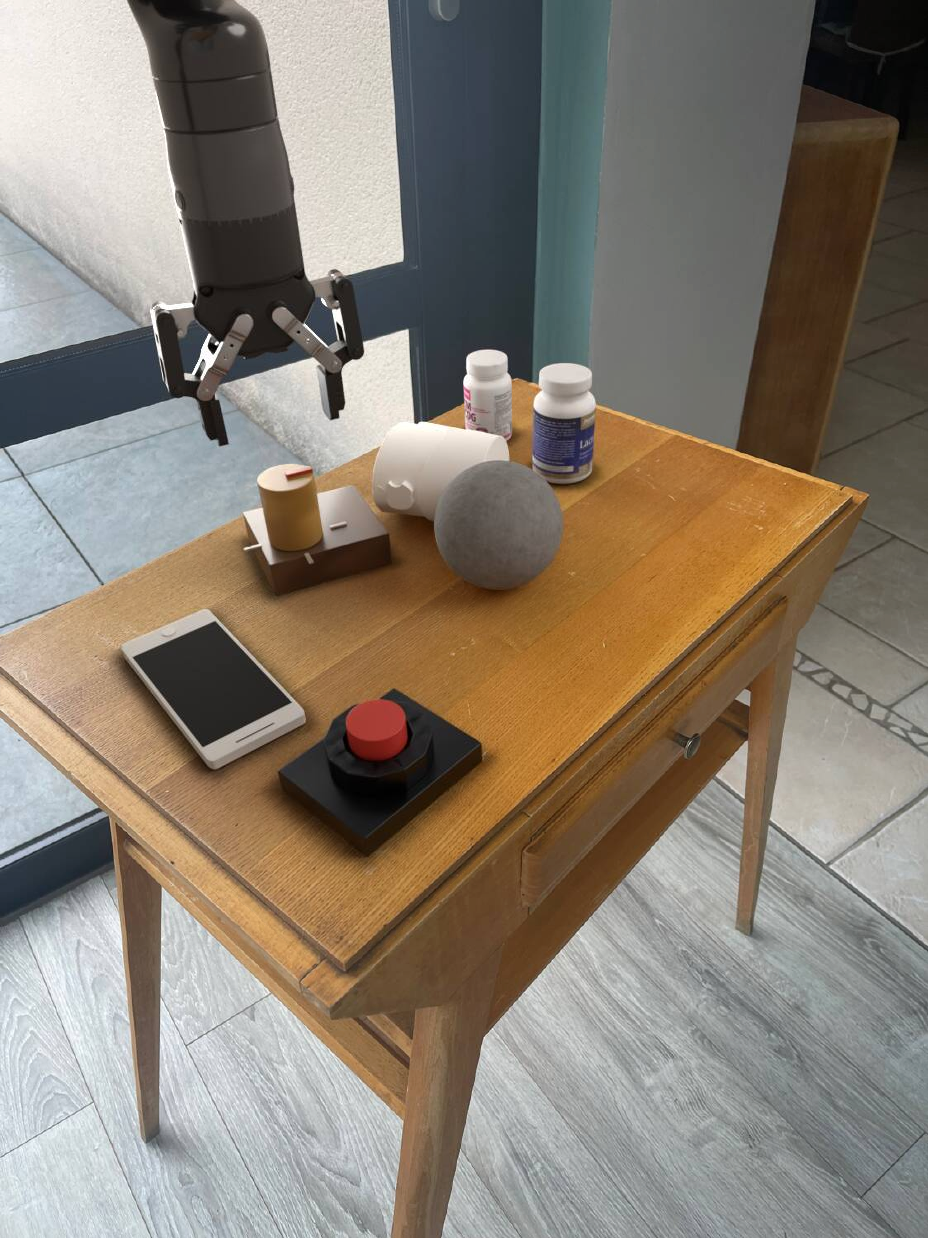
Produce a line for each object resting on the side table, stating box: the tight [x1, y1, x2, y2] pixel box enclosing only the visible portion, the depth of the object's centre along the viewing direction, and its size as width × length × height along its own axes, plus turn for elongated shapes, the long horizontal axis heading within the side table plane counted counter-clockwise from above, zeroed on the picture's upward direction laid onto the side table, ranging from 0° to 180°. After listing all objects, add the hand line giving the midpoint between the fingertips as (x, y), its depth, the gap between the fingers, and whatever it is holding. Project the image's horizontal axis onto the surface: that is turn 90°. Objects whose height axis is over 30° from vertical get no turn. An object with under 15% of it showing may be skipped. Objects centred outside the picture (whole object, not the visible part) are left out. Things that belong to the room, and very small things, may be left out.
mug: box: [371, 421, 510, 522], centre depth 82 cm, size 12×9×8 cm
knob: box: [256, 463, 323, 551], centre depth 74 cm, size 4×4×6 cm
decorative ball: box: [433, 460, 564, 591], centre depth 73 cm, size 10×10×10 cm
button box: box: [277, 687, 483, 858], centre depth 58 cm, size 10×8×4 cm
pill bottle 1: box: [463, 349, 513, 442], centre depth 93 cm, size 5×5×8 cm
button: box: [346, 698, 408, 761], centre depth 57 cm, size 4×4×2 cm
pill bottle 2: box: [531, 362, 597, 485], centre depth 86 cm, size 6×6×10 cm
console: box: [242, 484, 393, 596], centre depth 78 cm, size 11×10×3 cm
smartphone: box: [120, 608, 307, 771], centre depth 66 cm, size 7×15×1 cm, turn 38°
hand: (277, 428), depth 70 cm, fingers open, 8 cm apart
